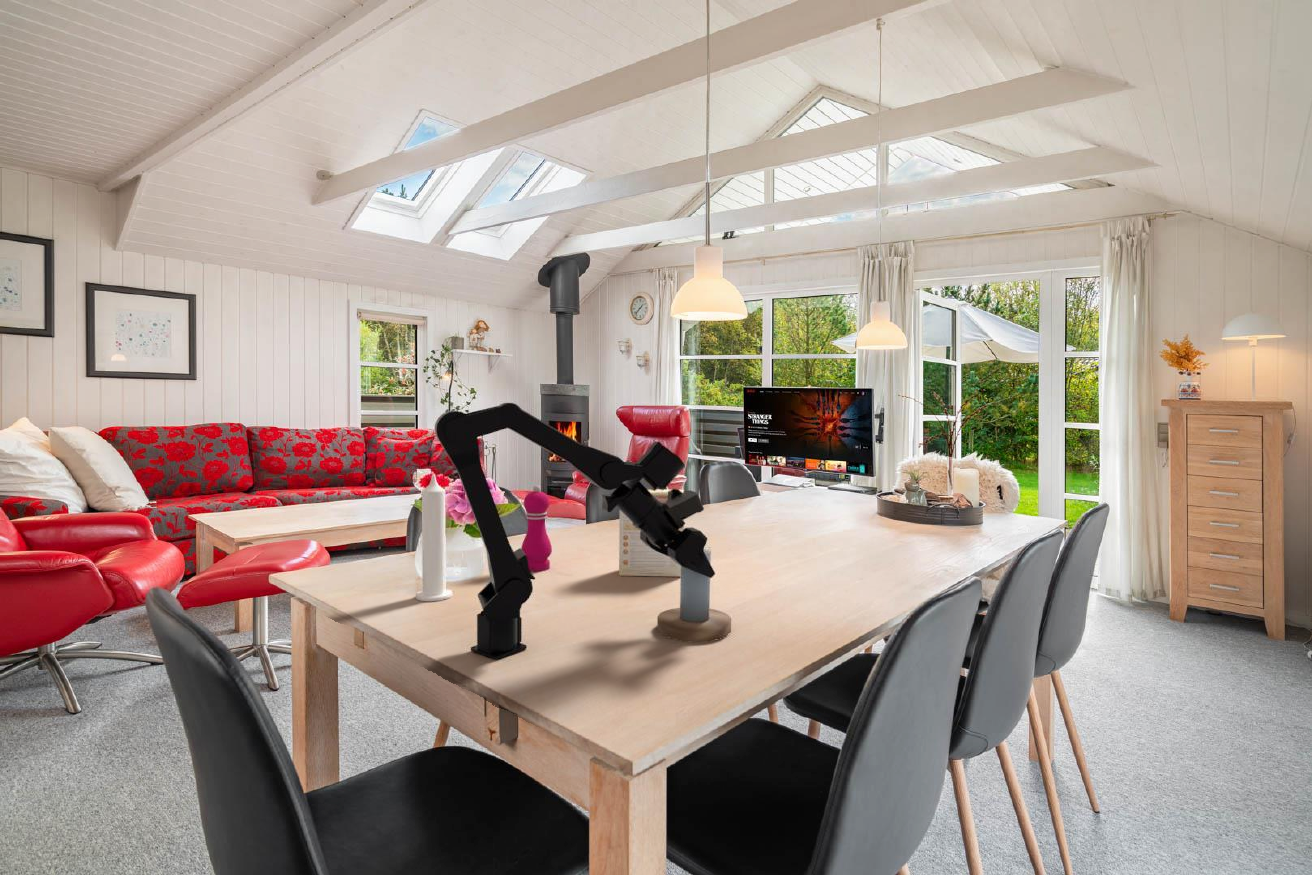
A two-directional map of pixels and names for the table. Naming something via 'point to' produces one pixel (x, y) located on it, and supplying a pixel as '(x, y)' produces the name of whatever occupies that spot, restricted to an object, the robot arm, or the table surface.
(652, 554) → the coffeecake box
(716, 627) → the trivet
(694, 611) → the jar
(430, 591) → the candle
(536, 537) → the pepper mill
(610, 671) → the table surface
